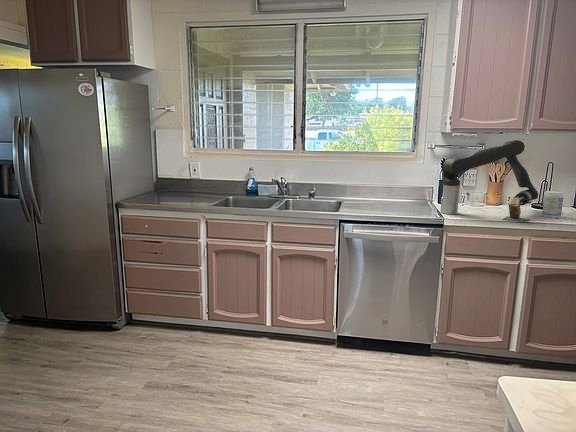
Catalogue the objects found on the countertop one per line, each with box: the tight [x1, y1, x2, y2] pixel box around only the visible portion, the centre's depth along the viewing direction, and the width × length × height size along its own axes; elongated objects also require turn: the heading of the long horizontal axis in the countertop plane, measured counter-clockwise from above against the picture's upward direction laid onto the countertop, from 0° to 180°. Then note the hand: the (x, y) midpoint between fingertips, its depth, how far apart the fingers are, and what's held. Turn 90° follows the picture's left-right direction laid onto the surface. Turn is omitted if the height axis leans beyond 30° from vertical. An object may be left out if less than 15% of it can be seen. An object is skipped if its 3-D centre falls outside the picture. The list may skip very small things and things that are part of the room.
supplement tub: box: [541, 190, 565, 219], centre depth 242 cm, size 10×10×15 cm
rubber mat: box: [501, 215, 531, 223], centre depth 236 cm, size 12×11×1 cm
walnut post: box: [507, 196, 522, 219], centre depth 234 cm, size 4×4×13 cm
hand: (516, 201), depth 235 cm, fingers closed
